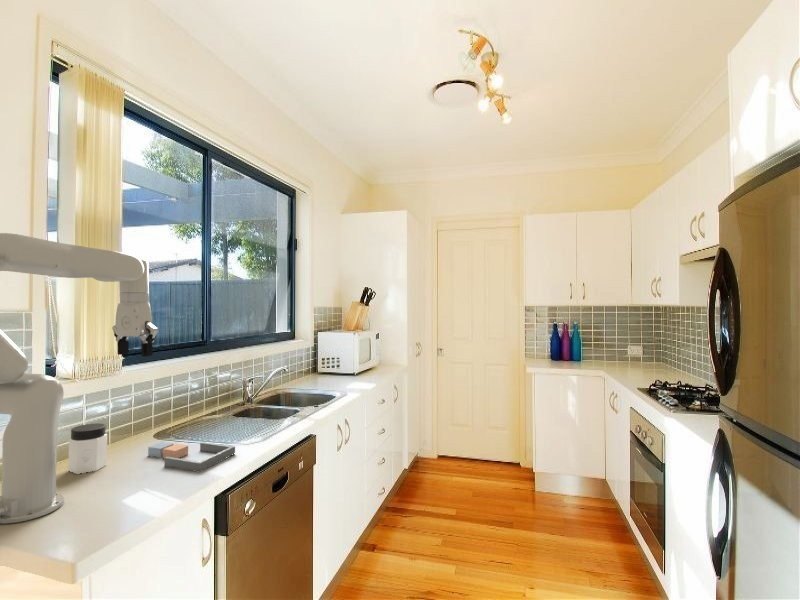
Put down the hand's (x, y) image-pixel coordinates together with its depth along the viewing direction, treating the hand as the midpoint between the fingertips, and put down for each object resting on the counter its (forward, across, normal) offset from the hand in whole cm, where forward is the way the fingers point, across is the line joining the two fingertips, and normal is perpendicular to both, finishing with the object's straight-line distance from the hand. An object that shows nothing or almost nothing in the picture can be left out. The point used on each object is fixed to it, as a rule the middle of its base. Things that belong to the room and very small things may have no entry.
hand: (135, 355), depth 125 cm
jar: (+33, -8, -9) cm, 35 cm away
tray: (+33, +17, +8) cm, 38 cm away
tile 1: (+33, +1, +8) cm, 34 cm away
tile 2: (+33, +7, +8) cm, 35 cm away
